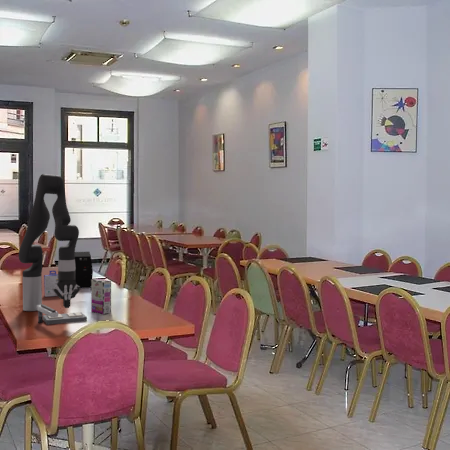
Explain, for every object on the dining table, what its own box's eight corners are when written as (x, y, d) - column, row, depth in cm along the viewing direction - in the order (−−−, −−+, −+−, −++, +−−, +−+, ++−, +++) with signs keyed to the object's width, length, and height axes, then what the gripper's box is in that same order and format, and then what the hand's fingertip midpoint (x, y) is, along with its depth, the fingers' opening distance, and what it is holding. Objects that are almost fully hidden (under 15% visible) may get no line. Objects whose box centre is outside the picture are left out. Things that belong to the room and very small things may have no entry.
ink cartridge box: (61, 294, 351) (61, 269, 350) (62, 295, 346) (62, 271, 345) (43, 295, 347) (43, 270, 346) (45, 296, 342) (44, 271, 341)
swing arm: (35, 309, 274) (35, 303, 274) (42, 308, 276) (42, 302, 276) (51, 317, 256) (51, 311, 256) (58, 316, 258) (58, 310, 258)
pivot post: (37, 322, 274) (37, 310, 274) (42, 321, 275) (42, 309, 275) (38, 323, 272) (38, 310, 272) (43, 322, 273) (42, 310, 273)
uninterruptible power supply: (91, 280, 408) (91, 251, 407) (93, 288, 375) (92, 256, 374) (66, 281, 404) (66, 251, 403) (66, 288, 371) (65, 257, 370)
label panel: (42, 319, 280) (42, 313, 280) (81, 316, 288) (81, 310, 288) (47, 324, 269) (47, 318, 269) (86, 321, 277) (86, 315, 277)
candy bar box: (111, 313, 295) (111, 280, 294) (103, 315, 291) (103, 281, 291) (99, 310, 303) (99, 278, 302) (90, 311, 299) (90, 279, 298)
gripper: (77, 267, 273) (77, 304, 274) (49, 269, 266) (49, 307, 267) (84, 269, 267) (84, 307, 268) (55, 271, 259) (55, 310, 261)
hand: (66, 307), depth 267 cm, fingers closed
